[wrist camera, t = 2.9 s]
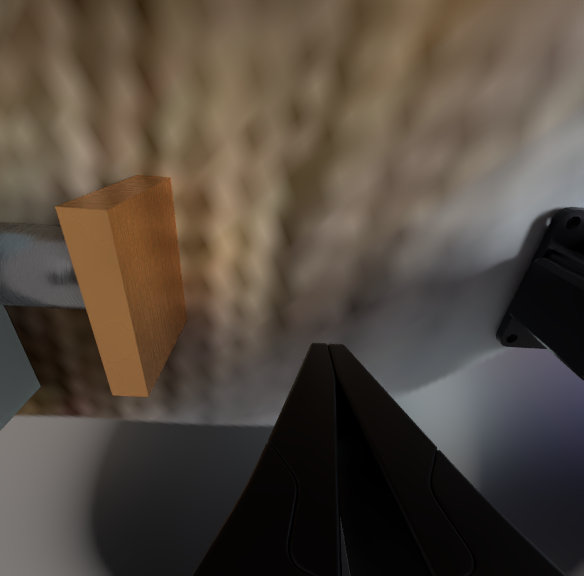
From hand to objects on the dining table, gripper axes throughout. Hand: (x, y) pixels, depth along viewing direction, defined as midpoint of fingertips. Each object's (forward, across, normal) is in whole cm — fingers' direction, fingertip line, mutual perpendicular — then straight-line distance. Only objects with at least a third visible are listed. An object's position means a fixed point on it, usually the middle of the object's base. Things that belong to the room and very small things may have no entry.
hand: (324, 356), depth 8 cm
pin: (+6, +9, 0) cm, 11 cm away
